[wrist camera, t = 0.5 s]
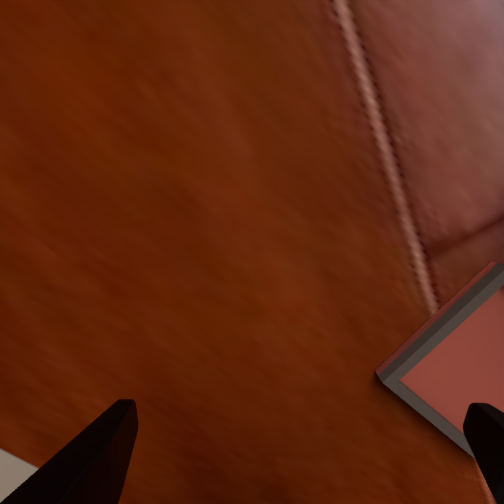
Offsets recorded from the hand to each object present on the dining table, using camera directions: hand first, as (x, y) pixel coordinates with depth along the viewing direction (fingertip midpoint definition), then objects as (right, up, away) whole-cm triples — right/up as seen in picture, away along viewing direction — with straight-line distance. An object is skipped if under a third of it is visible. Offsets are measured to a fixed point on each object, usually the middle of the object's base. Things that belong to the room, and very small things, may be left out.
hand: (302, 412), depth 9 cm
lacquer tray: (+16, -4, +16) cm, 23 cm away
